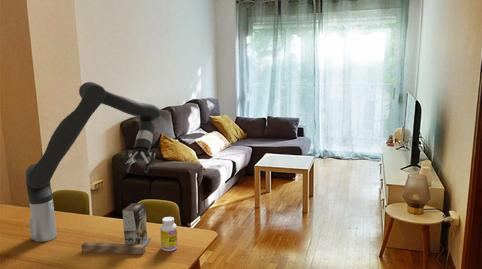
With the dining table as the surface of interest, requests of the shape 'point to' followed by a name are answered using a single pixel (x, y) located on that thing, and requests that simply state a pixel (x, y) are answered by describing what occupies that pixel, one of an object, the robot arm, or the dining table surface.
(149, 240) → the end mat
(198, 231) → the dining table surface
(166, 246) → the supplement bottle
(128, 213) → the coffee box
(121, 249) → the walnut fence
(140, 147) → the robot arm
